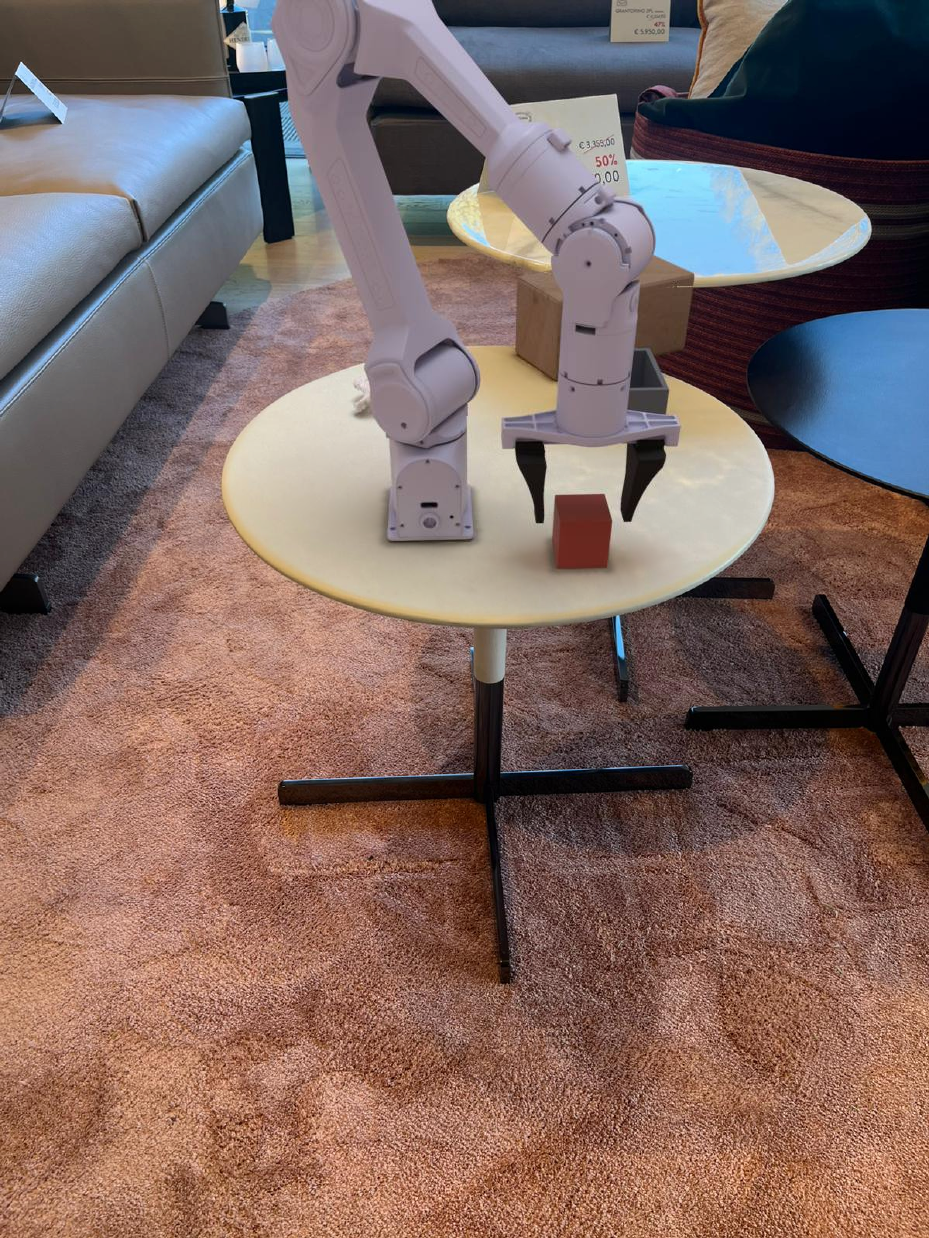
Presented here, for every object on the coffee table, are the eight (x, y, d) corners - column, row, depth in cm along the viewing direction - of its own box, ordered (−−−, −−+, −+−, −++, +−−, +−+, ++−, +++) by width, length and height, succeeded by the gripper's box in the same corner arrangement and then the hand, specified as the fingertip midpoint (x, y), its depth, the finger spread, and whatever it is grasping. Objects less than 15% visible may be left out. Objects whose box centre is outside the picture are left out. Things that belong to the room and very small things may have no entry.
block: (607, 568, 82) (612, 520, 79) (556, 569, 82) (560, 521, 79) (600, 540, 86) (604, 493, 83) (551, 541, 86) (554, 494, 82)
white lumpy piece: (421, 363, 108) (420, 382, 103) (422, 398, 111) (420, 419, 105) (353, 363, 108) (348, 382, 103) (355, 398, 110) (350, 419, 105)
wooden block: (515, 275, 113) (647, 250, 121) (513, 353, 120) (639, 325, 127) (559, 300, 107) (696, 272, 114) (554, 382, 113) (685, 350, 120)
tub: (663, 436, 102) (669, 389, 98) (579, 437, 101) (583, 391, 98) (644, 392, 110) (650, 348, 107) (567, 393, 110) (570, 349, 107)
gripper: (676, 349, 76) (656, 492, 85) (500, 351, 76) (498, 494, 84) (694, 385, 71) (671, 534, 79) (505, 388, 70) (501, 537, 79)
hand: (582, 516), depth 81 cm, fingers open, 7 cm apart
